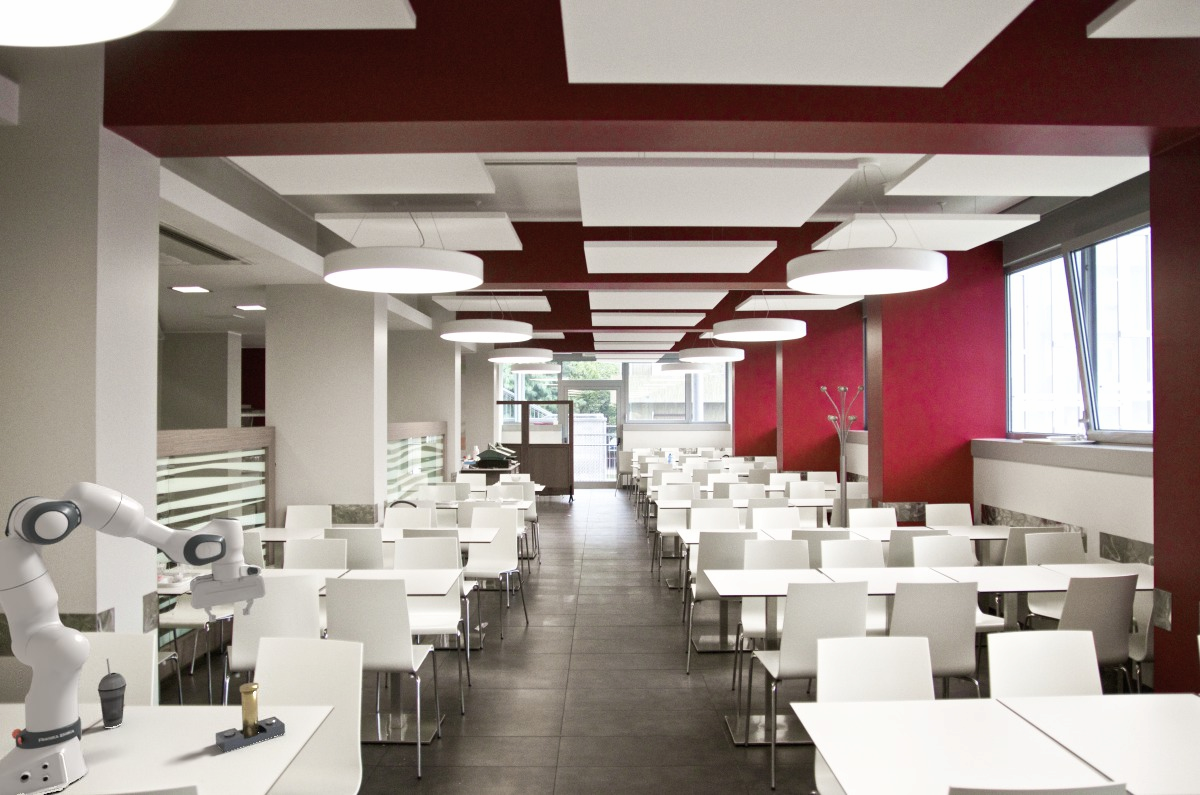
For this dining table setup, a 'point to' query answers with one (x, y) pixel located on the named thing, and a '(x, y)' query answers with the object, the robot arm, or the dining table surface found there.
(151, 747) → the dining table surface
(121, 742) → the dining table surface
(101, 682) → the beverage cup
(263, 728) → the slotted clamp bar
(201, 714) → the dining table surface
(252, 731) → the pin
